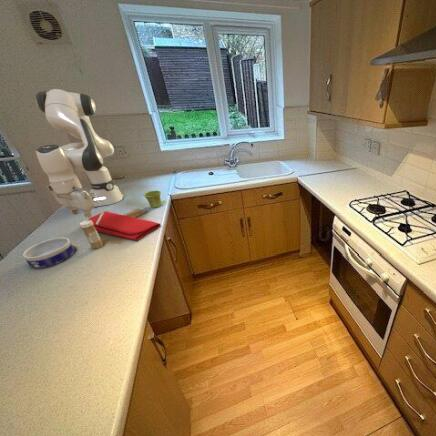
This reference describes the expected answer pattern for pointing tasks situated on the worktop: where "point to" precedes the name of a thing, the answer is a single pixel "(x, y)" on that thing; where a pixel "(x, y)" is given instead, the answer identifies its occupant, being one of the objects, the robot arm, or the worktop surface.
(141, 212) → the coaster
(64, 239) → the dog bowl
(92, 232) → the sprinkles bottle
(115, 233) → the dish drying mat
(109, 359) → the worktop surface
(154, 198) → the plant pot
